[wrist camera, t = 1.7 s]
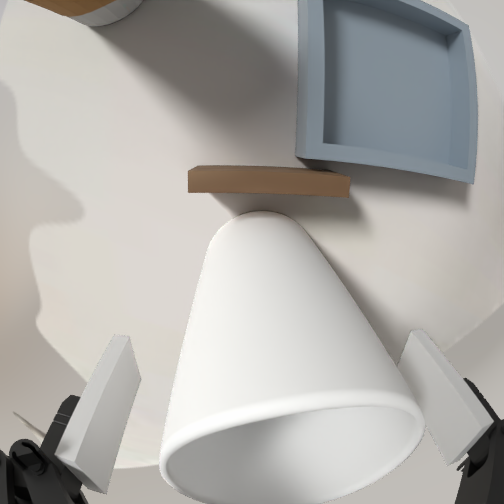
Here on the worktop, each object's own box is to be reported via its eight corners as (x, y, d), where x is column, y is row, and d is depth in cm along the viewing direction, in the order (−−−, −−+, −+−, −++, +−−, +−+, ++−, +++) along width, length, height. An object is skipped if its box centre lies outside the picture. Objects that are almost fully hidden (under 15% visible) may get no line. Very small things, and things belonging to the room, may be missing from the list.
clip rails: (198, 165, 18) (187, 170, 15) (329, 170, 19) (350, 177, 15) (205, 341, 24) (200, 373, 20) (308, 340, 24) (318, 371, 20)
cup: (336, 250, 21) (461, 421, 6) (272, 327, 23) (304, 515, 8) (246, 187, 19) (273, 347, 4) (185, 278, 21) (125, 481, 6)
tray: (297, -15, 13) (305, -34, 11) (448, 32, 14) (468, 25, 11) (295, 156, 18) (305, 158, 16) (451, 178, 19) (473, 184, 16)
